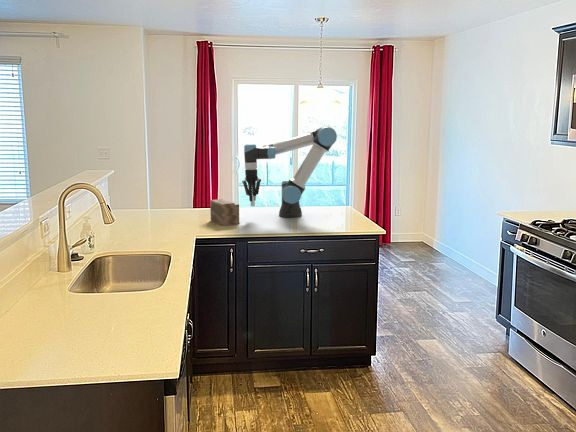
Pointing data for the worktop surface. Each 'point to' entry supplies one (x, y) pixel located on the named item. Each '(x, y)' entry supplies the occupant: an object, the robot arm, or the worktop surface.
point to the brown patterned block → (224, 212)
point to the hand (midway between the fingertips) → (252, 206)
